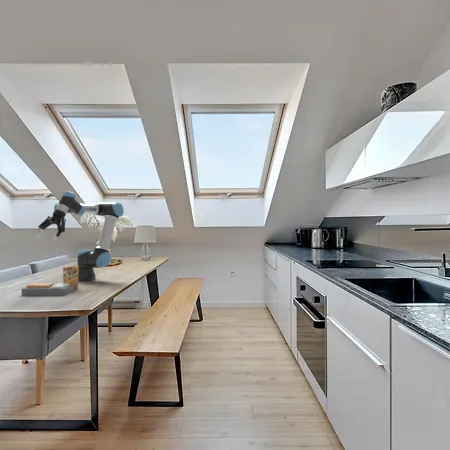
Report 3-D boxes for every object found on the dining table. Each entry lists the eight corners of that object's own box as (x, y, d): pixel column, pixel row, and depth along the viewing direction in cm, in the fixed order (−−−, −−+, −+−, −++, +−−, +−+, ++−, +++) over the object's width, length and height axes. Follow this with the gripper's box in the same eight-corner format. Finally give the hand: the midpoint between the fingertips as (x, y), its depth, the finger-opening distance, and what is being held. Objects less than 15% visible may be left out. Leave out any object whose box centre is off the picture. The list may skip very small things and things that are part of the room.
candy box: (66, 290, 230) (66, 267, 230) (62, 289, 233) (62, 266, 233) (78, 288, 238) (78, 266, 238) (74, 287, 240) (75, 265, 240)
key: (33, 287, 225) (33, 283, 225) (53, 287, 226) (53, 283, 226) (26, 289, 217) (26, 285, 217) (47, 289, 218) (47, 285, 218)
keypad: (32, 290, 228) (32, 282, 228) (73, 290, 229) (73, 282, 229) (21, 295, 214) (21, 286, 214) (64, 295, 215) (64, 286, 215)
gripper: (42, 207, 237) (27, 234, 227) (72, 210, 229) (57, 239, 219) (49, 212, 243) (34, 239, 233) (78, 216, 235) (64, 244, 225)
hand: (45, 239), depth 226 cm, fingers open, 13 cm apart
